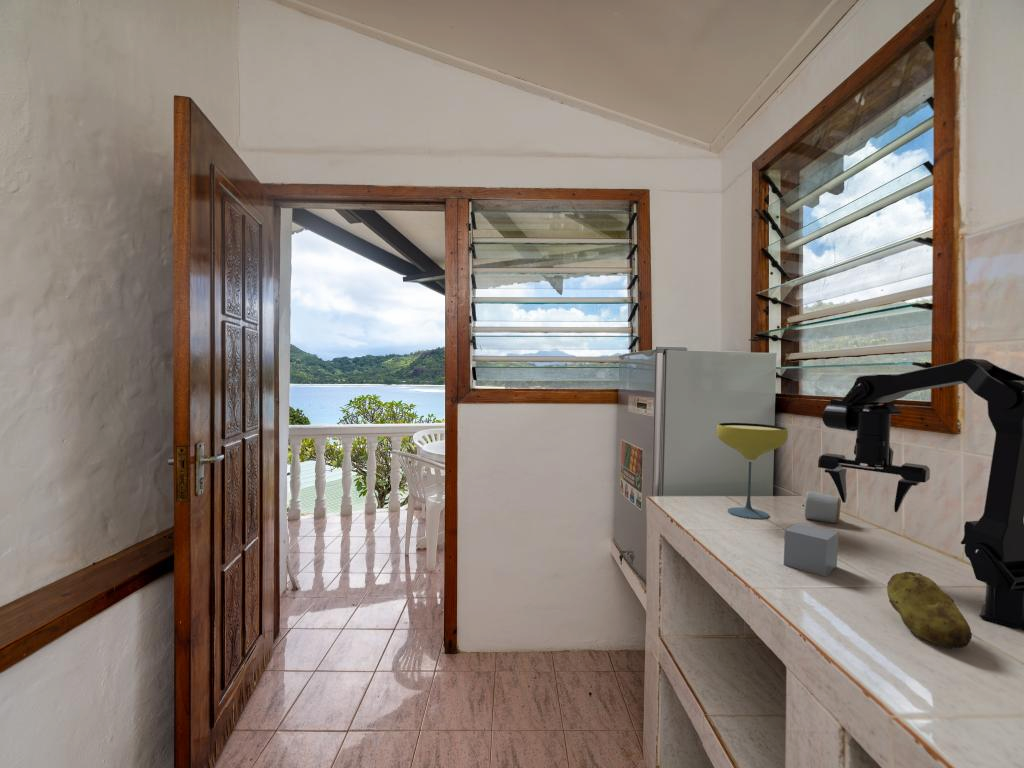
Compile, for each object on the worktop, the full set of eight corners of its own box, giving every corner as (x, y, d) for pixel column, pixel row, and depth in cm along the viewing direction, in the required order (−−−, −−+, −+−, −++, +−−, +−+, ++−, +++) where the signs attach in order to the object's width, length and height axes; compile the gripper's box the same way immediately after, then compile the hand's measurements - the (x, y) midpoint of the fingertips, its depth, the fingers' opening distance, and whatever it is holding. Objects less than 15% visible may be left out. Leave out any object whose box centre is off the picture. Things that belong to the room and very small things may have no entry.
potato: (905, 646, 74) (908, 592, 74) (880, 608, 86) (882, 562, 86) (977, 660, 71) (980, 604, 71) (940, 619, 83) (943, 571, 83)
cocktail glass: (794, 525, 133) (798, 431, 132) (722, 520, 136) (726, 428, 135) (770, 507, 151) (774, 424, 150) (707, 503, 153) (710, 421, 153)
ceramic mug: (839, 526, 133) (841, 498, 133) (804, 521, 137) (805, 493, 137) (840, 518, 141) (841, 491, 141) (806, 513, 146) (807, 486, 146)
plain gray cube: (825, 576, 99) (827, 539, 99) (783, 564, 105) (785, 530, 105) (836, 566, 105) (838, 532, 104) (796, 555, 110) (797, 523, 110)
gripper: (935, 436, 105) (932, 510, 106) (833, 427, 119) (830, 492, 119) (927, 440, 98) (922, 520, 98) (818, 430, 111) (815, 500, 112)
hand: (869, 506), depth 107 cm, fingers open, 9 cm apart
